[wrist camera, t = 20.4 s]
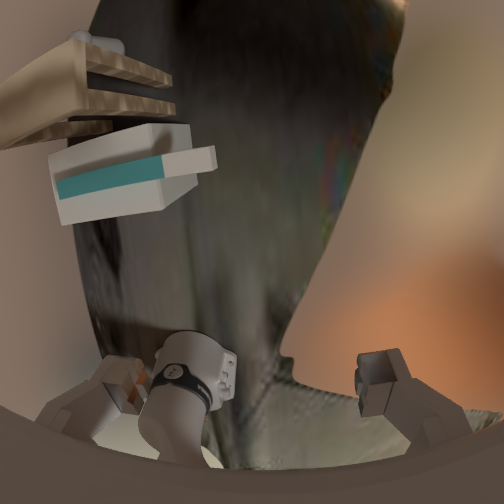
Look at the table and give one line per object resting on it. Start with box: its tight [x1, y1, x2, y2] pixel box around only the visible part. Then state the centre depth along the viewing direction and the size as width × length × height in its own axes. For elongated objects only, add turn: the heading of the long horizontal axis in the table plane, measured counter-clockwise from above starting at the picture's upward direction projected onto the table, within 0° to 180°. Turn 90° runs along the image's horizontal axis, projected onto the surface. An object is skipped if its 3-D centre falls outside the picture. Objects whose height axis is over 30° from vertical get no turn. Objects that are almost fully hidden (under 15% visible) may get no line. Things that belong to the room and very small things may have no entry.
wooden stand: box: [0, 38, 176, 150], centre depth 30 cm, size 7×14×26 cm, turn 97°
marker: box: [56, 146, 217, 200], centre depth 30 cm, size 2×20×2 cm, turn 96°
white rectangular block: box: [47, 123, 198, 226], centre depth 39 cm, size 10×16×16 cm, turn 97°
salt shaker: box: [66, 30, 125, 56], centre depth 33 cm, size 6×6×13 cm
